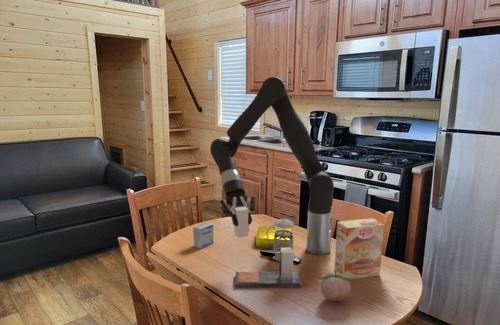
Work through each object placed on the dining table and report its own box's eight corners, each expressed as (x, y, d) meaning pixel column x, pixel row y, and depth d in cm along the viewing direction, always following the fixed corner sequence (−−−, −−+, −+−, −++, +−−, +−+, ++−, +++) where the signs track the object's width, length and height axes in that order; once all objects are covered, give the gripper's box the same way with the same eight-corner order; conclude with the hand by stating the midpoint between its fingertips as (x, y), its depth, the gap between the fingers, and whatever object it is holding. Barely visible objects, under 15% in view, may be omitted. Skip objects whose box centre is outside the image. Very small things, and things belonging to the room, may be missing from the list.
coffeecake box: (343, 281, 122) (346, 228, 119) (333, 271, 129) (336, 220, 125) (380, 275, 126) (385, 224, 123) (369, 266, 133) (372, 217, 129)
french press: (294, 262, 136) (296, 200, 131) (264, 259, 138) (265, 198, 133) (296, 252, 145) (298, 193, 141) (268, 249, 147) (269, 191, 143)
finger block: (245, 231, 130) (245, 206, 128) (249, 235, 127) (248, 209, 125) (234, 233, 129) (233, 207, 127) (237, 237, 125) (237, 210, 123)
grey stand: (297, 275, 126) (298, 245, 124) (300, 287, 118) (302, 255, 116) (235, 275, 125) (235, 245, 123) (235, 287, 117) (235, 255, 115)
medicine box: (200, 249, 147) (200, 229, 145) (193, 246, 149) (193, 227, 148) (213, 243, 153) (213, 224, 151) (206, 240, 156) (206, 222, 154)
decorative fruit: (344, 293, 115) (346, 264, 113) (352, 308, 106) (354, 277, 105) (316, 293, 114) (317, 264, 112) (322, 308, 106) (323, 277, 104)
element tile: (290, 236, 163) (291, 226, 162) (291, 249, 148) (291, 238, 147) (258, 234, 164) (258, 224, 164) (255, 247, 150) (255, 237, 149)
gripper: (216, 180, 128) (226, 222, 120) (252, 177, 134) (264, 217, 125) (212, 190, 134) (222, 231, 125) (247, 187, 139) (258, 226, 131)
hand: (243, 224), depth 125 cm, fingers closed on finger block, 4 cm apart
